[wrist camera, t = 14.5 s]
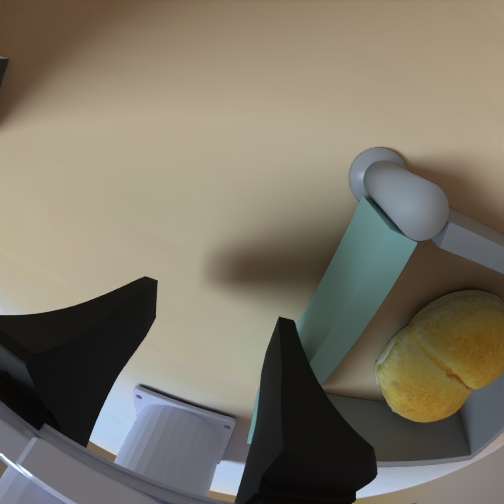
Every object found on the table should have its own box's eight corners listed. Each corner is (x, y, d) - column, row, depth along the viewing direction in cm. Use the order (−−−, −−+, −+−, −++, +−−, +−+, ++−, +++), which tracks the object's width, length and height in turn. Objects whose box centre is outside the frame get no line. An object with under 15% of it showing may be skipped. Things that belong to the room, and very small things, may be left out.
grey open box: (456, 412, 16) (470, 459, 12) (267, 389, 17) (255, 453, 13) (564, 248, 10) (607, 284, 5) (359, 138, 10) (395, 146, 6)
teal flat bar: (372, 153, 10) (412, 170, 6) (406, 171, 10) (457, 198, 6) (253, 387, 16) (239, 447, 12) (278, 394, 16) (268, 455, 12)
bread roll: (513, 326, 13) (540, 365, 9) (416, 405, 16) (426, 449, 13) (470, 249, 12) (511, 289, 8) (347, 356, 15) (353, 412, 12)
